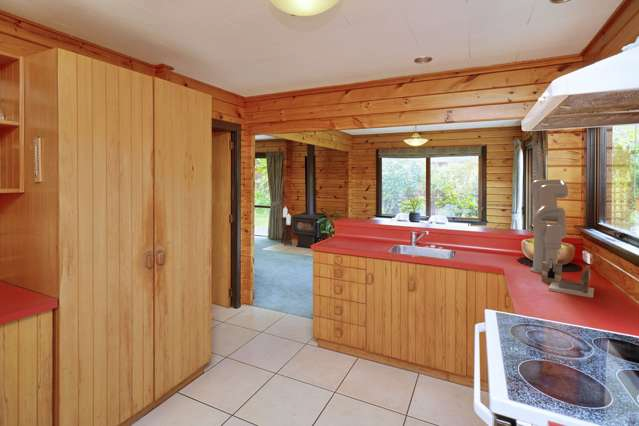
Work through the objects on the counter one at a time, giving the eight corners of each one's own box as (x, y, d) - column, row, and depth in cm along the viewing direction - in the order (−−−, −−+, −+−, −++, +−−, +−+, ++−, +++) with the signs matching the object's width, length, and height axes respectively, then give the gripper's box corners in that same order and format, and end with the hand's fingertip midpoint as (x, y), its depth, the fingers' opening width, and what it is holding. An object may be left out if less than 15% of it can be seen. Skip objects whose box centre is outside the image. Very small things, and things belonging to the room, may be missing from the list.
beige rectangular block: (542, 279, 192) (543, 261, 192) (561, 282, 186) (562, 263, 186) (541, 281, 190) (542, 262, 189) (560, 284, 184) (561, 264, 183)
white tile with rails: (551, 284, 183) (552, 277, 183) (593, 291, 171) (594, 283, 171) (548, 290, 173) (548, 282, 172) (592, 297, 161) (593, 289, 160)
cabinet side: (581, 286, 174) (582, 264, 173) (588, 287, 172) (589, 265, 171) (579, 292, 165) (580, 268, 164) (587, 293, 163) (588, 269, 162)
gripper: (547, 243, 195) (545, 273, 197) (542, 247, 183) (541, 279, 184) (562, 244, 190) (561, 275, 192) (559, 248, 178) (557, 281, 179)
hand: (551, 277), depth 188 cm, fingers closed on beige rectangular block, 3 cm apart
